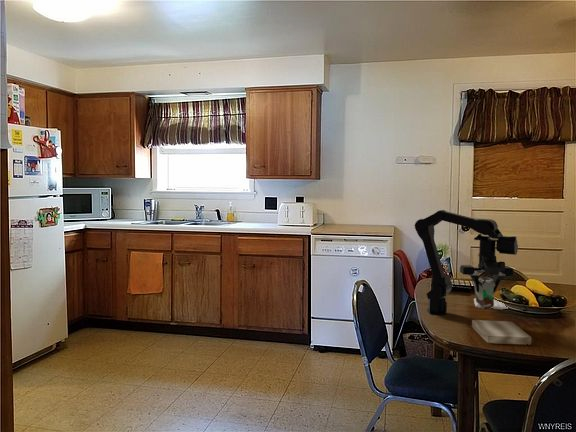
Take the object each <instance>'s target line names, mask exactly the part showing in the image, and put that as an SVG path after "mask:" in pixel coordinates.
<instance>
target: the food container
mask: <svg viewBox="0 0 576 432" xmlns="http://www.w3.org/2000/svg"><path fill="white" fill-rule="evenodd" d="M478 281H479V292H477V291H476V288H475V285H474V284H473V287H474V295H475V298H476V302H477V303H478V304H479V305H480V306H481V307H482V309H483V310H488V309H491V307H493V306H494V297H495V294H494V287H495V283H494V281H493V277H489V276H479V279H478Z"/></svg>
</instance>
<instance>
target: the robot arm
mask: <svg viewBox="0 0 576 432" xmlns="http://www.w3.org/2000/svg"><path fill="white" fill-rule="evenodd" d="M442 221H443V222H447V223H450V224H455V225H456V226H457V225H458V226H462V227H465V228H469V229H471V230H473V231H474V232H477V233H478V235H476V237H474V238H473V240H474V241H479V248H478V251H479V252H478V264H477V267H475V266H472V265H471V264H469V265H468V264H461V266H460V267H459V273H461V274H462V275H465V276H466V275H468V276H469V277H470V278H471V280H472V282H473V286H474V285H475V288H476V291H477V292H479V281H478V279H479V277H480V275H478V274H479V273H483V274H486V275H487V276H491V275H492V279H493V281H494V283H495V287H494V293H496V291H497V288H498V286H499V284H500V282H501V281H502V279H505V278H507V277H508V276H511V277H514V276H515V270H514V268H513V267H511V266H509V265H506V263H505V261H497V256H496V251H497V252H498V253H499V255H500V254H502V255H503V254H504V255H512V256H513V255H514V256H516V255H517V254H518V250H519V245H518V239H517V238H518V237H517V236H505V235H503V234H502V232H501V231H500V229H499V228H498V227H499V226H498V223H497V221H496V220H494V219H490V218H476V217H475V218H474V217H470V216H465V215H462V214H458V213H453V212H450V211H446V210H444V209H440V210H437V211H436V212H435V213H432V214H431V215H429V216H427V217H425V218H420V219H418V220H417V221H415V223H414V229H415V231H416V233H417V235H418V237H419V238H420V240H421V241H422V244H423V247H424V252H425V253H426V258H427V261H428V264H429V268H430V272H431V275H432V277H431V287H432V288H431V290H429V291H428V292H426V297H427V299H428V304H427V305H428V306H427V310H426V311H427V312H428V313H429V315H447V310H448V309H447V307H448V305H447V304H448V302H447V300H446V297H447V295H448V294H449V293H450V292H451V291H452V289H453V288H452V286H453V285H454V284H453V282H452V280H451V275H450V274H448V275H446V273H445V272H444V269H443V265H442V262H441V259H440V254H439V252H438V248H437V244H436V241H435V226H437V225H439V224H440V223H441V222H442ZM475 288H474V289H475Z"/></svg>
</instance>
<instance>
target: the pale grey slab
mask: <svg viewBox="0 0 576 432" xmlns="http://www.w3.org/2000/svg"><path fill="white" fill-rule="evenodd" d="M471 327H472V329H474V330H475V332H476V333H478V335H479V336H480V337H481V338H482V339H483V340H484V341H485V342H486V343H487V344H503V345H505V344H507V345H527V344H528V345H531V346H532V336H531V335H529V334H528V333H526V332H525V331H524V330H523V329H522V328H520V327H519V326H518V325H517V324H515V323H514V322H513V321H507V320H481V319H472V320H471Z"/></svg>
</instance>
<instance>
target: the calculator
mask: <svg viewBox="0 0 576 432" xmlns="http://www.w3.org/2000/svg"><path fill="white" fill-rule="evenodd" d="M495 299H496V298H495ZM495 299H494V306H493V307H491V308H493V310H503V309H508V307H506V306H505V304H504V303H502V302H499V301H497V300H498V299H497V300H495ZM473 303H474V306H475V308H482V307H481V306H480V305H479V304H478V303H477V302H476V297H475V298H473ZM491 308H490V309H491ZM482 309H483V308H482Z"/></svg>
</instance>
